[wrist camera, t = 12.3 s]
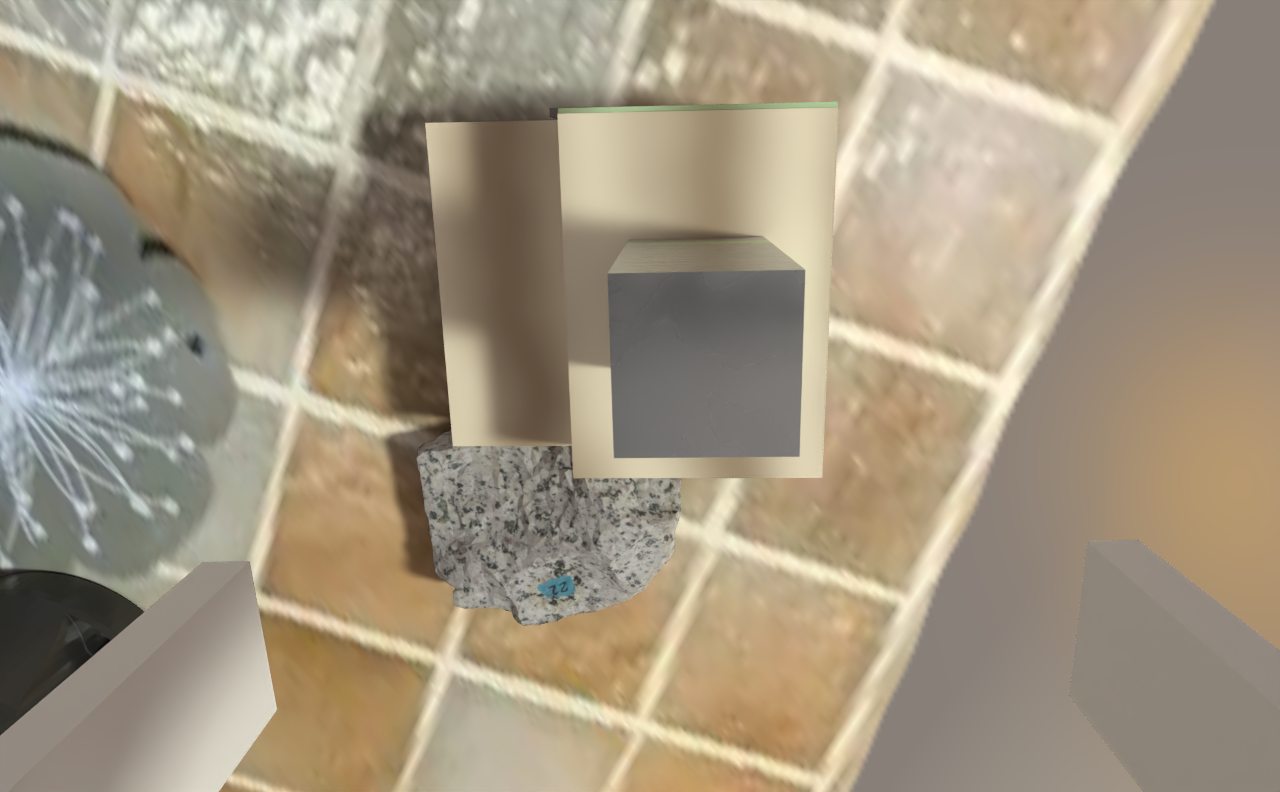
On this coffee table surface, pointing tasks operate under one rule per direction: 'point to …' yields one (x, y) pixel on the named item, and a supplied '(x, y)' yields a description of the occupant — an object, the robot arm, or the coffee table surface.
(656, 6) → the coffee table surface
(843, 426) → the coffee table surface
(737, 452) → the column
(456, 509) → the rock
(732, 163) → the stand
